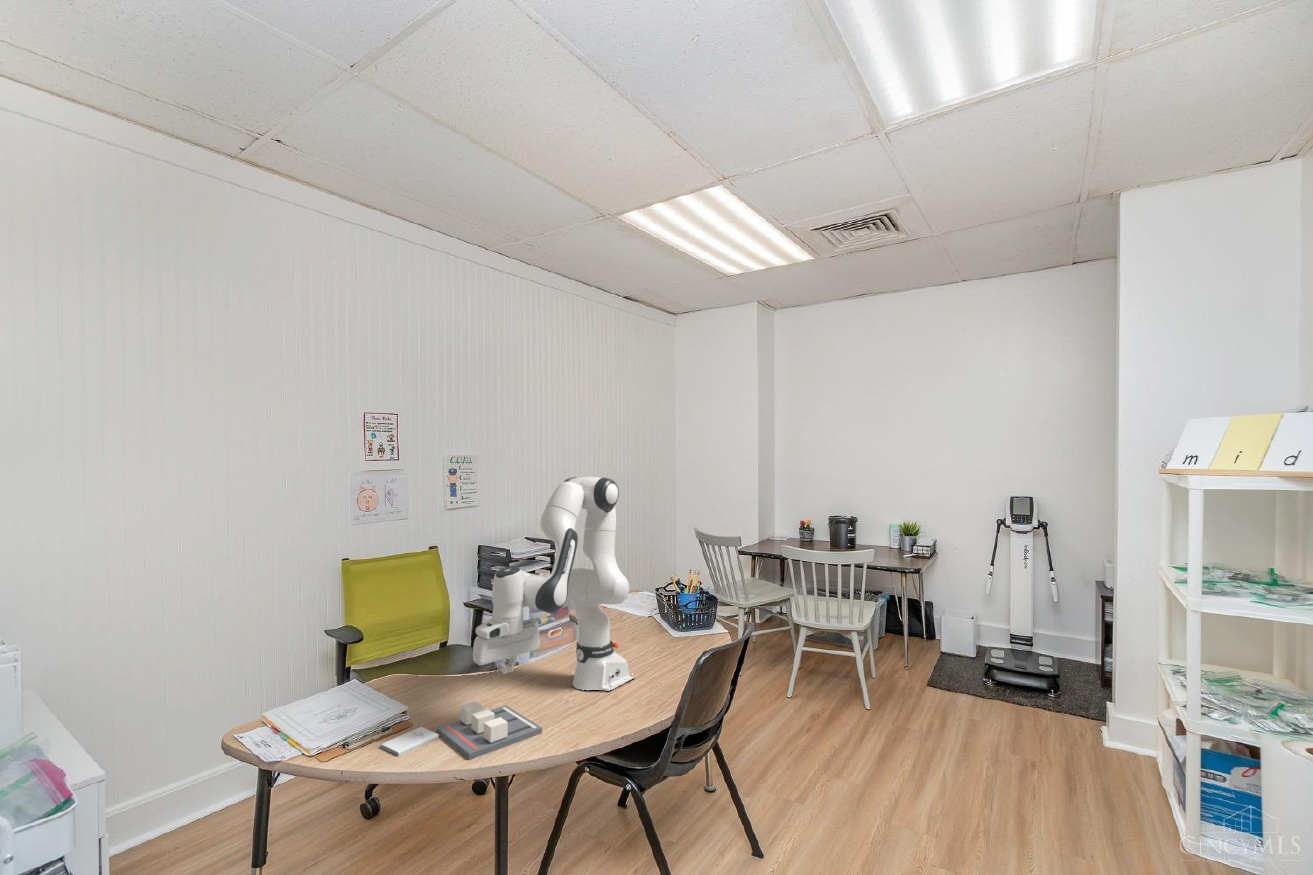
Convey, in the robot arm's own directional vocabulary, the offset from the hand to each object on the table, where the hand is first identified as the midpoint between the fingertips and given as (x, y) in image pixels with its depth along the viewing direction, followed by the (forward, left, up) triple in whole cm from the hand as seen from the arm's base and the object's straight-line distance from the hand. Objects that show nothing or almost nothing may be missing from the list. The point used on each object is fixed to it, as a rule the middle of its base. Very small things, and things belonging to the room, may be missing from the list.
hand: (507, 671), depth 173 cm
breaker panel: (+5, 0, -16) cm, 17 cm away
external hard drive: (+24, -9, -17) cm, 31 cm away
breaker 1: (+7, -7, -14) cm, 17 cm away
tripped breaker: (+7, 0, -14) cm, 16 cm away
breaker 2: (+7, +7, -14) cm, 17 cm away
